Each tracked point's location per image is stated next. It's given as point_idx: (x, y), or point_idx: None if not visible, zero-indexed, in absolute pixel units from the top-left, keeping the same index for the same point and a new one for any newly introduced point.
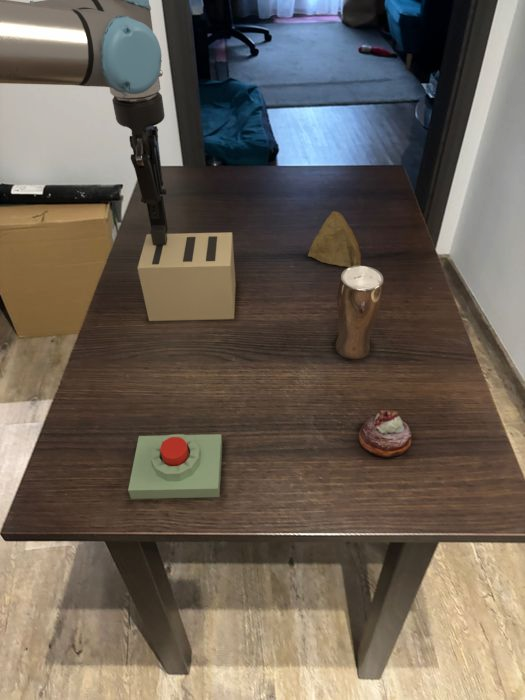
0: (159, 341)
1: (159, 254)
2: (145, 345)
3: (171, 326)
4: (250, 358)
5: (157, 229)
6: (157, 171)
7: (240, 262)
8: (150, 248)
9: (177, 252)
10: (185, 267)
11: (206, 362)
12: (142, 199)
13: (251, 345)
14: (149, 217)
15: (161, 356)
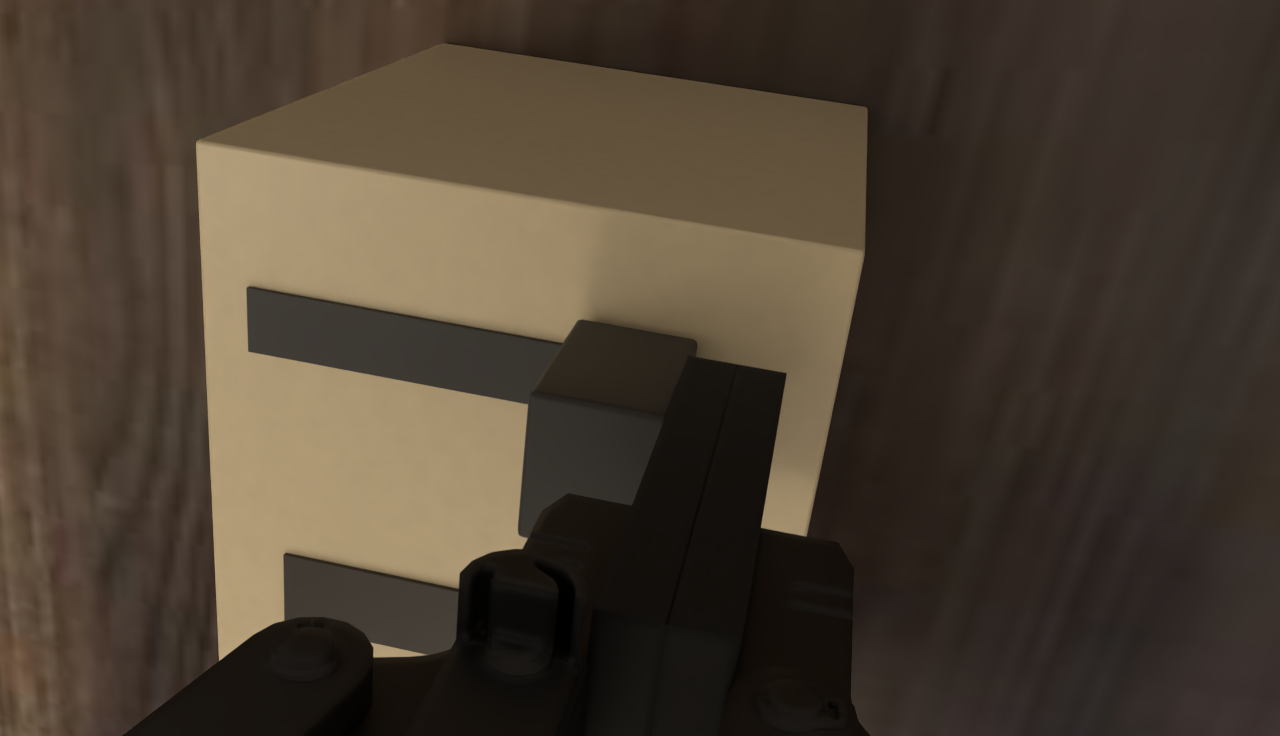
0: (238, 113)
1: (405, 368)
2: (202, 18)
3: None
4: (116, 574)
5: (548, 474)
6: None
7: (1022, 709)
8: (541, 283)
9: (440, 526)
10: (216, 557)
11: (77, 367)
12: (277, 650)
13: (208, 598)
14: (649, 459)
15: (109, 122)
